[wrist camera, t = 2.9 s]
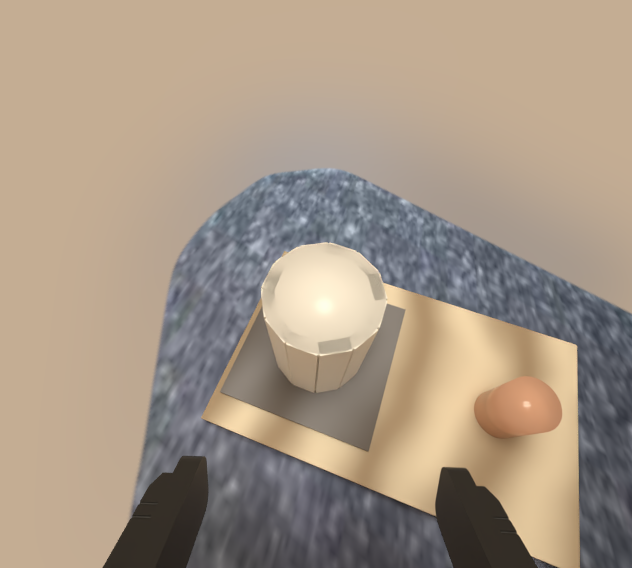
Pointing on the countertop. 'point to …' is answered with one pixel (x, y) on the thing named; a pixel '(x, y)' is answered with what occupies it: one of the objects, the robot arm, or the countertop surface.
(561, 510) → the board
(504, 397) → the peach rounded knob
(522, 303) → the countertop surface
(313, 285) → the cover cup
